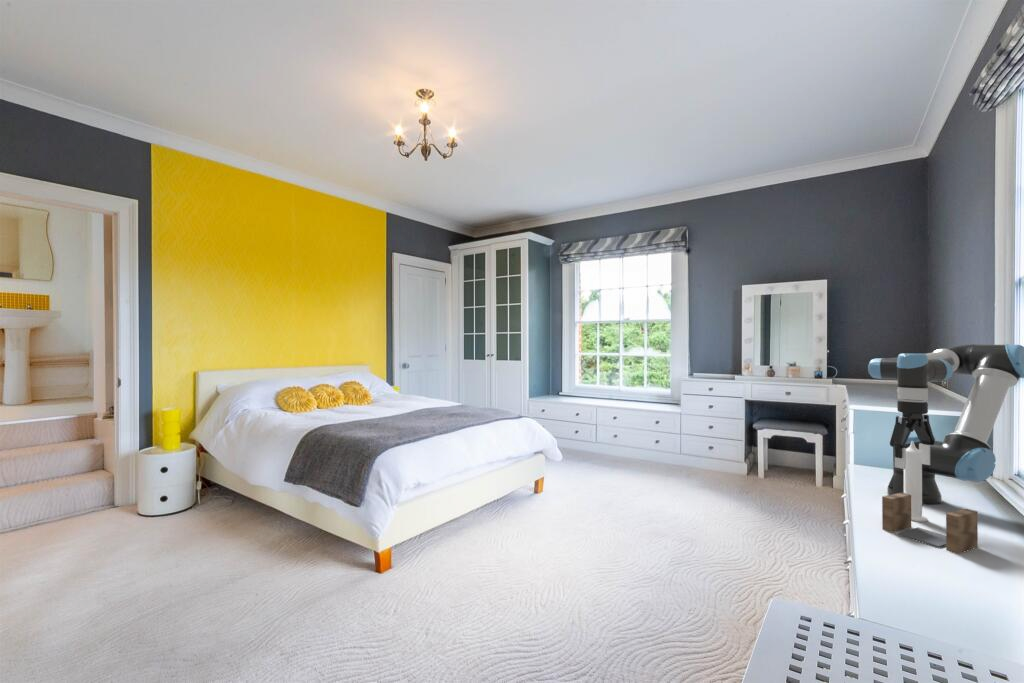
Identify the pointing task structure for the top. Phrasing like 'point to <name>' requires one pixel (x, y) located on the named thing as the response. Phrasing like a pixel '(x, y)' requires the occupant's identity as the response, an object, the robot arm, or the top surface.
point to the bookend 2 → (961, 530)
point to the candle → (914, 481)
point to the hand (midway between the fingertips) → (912, 466)
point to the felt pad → (925, 536)
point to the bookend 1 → (896, 512)
